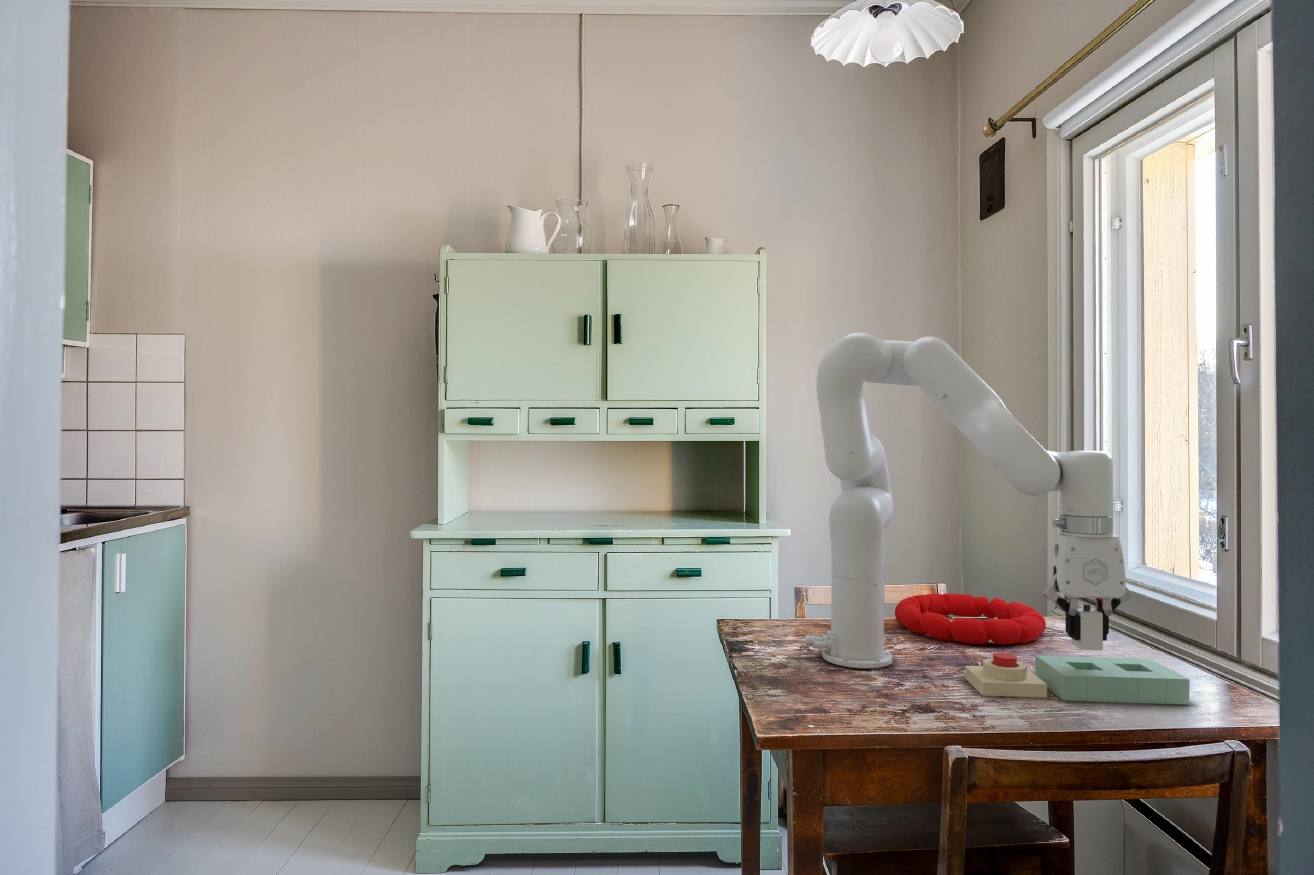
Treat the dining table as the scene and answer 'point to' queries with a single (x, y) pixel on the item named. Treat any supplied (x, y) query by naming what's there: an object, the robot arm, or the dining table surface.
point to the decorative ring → (970, 619)
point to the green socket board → (1112, 680)
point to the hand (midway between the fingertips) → (1087, 637)
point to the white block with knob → (1090, 629)
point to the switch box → (1005, 680)
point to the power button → (1005, 660)
